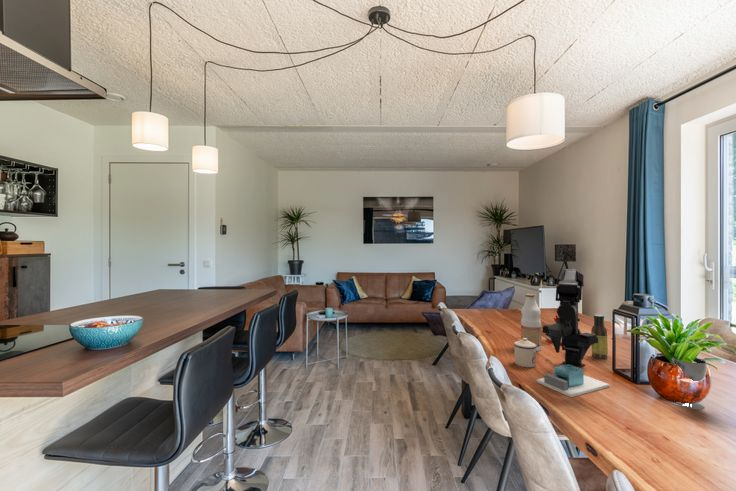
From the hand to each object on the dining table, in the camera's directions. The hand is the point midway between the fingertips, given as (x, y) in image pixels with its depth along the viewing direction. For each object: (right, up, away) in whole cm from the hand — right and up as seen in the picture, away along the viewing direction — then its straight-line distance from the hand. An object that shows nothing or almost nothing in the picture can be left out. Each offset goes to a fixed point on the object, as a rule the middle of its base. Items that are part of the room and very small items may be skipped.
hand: (568, 356), depth 125 cm
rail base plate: (+2, -11, 0) cm, 11 cm away
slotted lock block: (-1, -10, -1) cm, 10 cm away
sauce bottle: (+33, -11, +31) cm, 47 cm away
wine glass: (+30, -11, -16) cm, 36 cm away
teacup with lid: (-6, -11, +23) cm, 26 cm away
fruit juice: (+7, -11, +44) cm, 46 cm away
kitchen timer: (+30, -11, +55) cm, 64 cm away
